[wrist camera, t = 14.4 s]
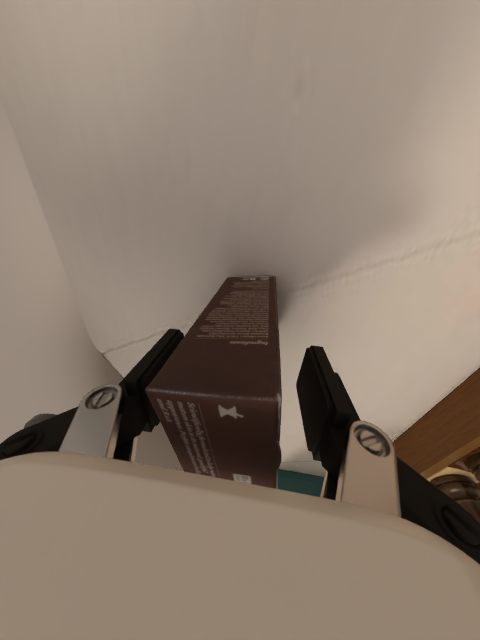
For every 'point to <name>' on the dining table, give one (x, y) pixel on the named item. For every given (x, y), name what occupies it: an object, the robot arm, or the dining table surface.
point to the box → (226, 387)
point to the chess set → (449, 445)
